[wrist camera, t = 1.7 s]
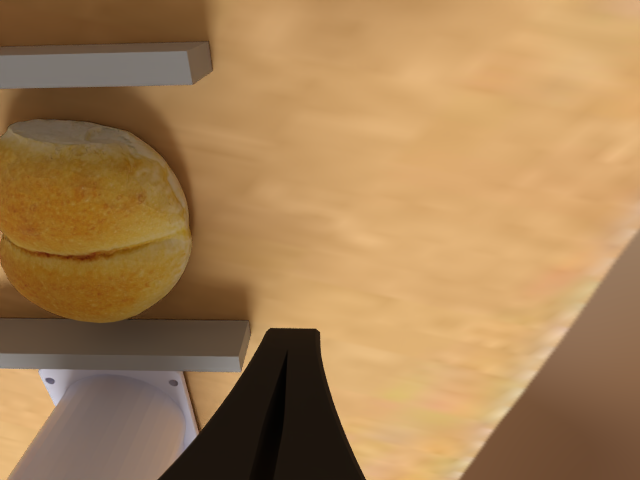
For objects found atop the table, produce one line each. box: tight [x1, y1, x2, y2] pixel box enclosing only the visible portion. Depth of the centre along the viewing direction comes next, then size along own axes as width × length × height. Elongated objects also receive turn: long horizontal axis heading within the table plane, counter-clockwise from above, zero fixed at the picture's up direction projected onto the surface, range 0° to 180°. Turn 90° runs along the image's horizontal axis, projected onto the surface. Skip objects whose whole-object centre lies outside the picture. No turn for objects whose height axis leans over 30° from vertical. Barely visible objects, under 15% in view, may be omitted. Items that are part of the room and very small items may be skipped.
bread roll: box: [0, 119, 192, 323], centre depth 18 cm, size 8×9×4 cm
